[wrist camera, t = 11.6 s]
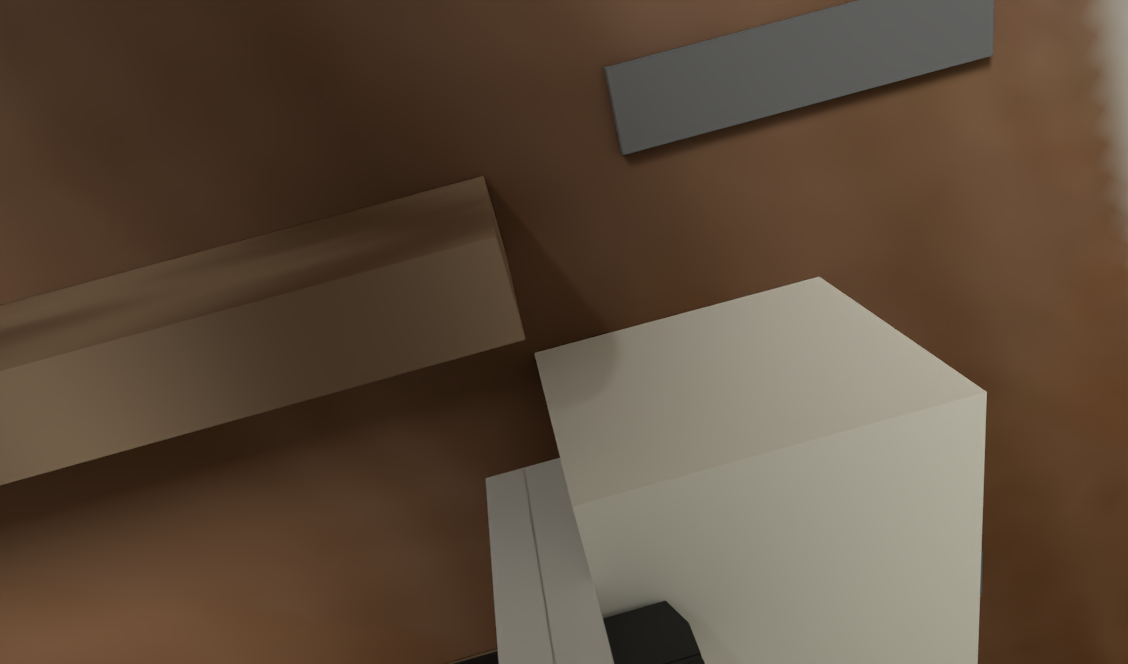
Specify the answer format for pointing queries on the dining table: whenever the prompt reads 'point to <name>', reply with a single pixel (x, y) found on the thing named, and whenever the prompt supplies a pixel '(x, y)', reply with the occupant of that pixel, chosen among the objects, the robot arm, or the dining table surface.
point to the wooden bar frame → (252, 328)
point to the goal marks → (792, 67)
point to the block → (778, 479)
